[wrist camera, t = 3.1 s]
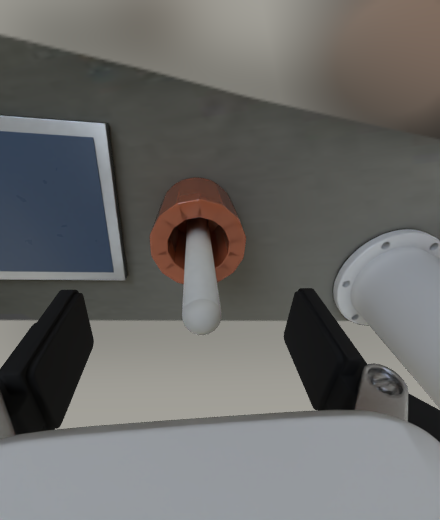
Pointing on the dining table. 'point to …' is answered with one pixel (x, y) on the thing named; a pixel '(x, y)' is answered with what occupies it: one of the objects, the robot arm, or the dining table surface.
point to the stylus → (200, 280)
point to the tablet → (58, 201)
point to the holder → (175, 226)
